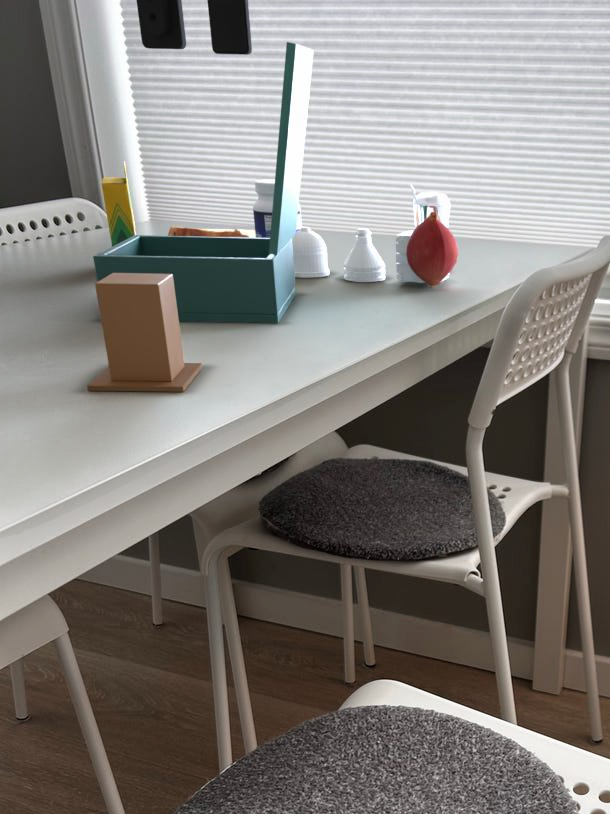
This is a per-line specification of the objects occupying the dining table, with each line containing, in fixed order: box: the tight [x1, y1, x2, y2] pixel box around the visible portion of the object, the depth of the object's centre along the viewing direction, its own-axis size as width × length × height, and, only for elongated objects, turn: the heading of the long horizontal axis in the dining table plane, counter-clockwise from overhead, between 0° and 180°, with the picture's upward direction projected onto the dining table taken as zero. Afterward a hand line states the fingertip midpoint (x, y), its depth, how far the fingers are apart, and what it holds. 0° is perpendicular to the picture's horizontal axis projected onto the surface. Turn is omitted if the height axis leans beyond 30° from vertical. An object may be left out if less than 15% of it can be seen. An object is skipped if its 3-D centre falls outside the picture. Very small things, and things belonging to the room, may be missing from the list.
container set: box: [292, 226, 450, 284], centre depth 113 cm, size 20×5×6 cm, turn 75°
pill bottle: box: [252, 178, 303, 238], centre depth 116 cm, size 6×6×10 cm
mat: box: [86, 362, 203, 393], centre depth 73 cm, size 7×7×1 cm
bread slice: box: [167, 225, 256, 238], centre depth 128 cm, size 18×18×4 cm
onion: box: [406, 211, 459, 288], centre depth 107 cm, size 6×6×8 cm
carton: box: [94, 273, 185, 382], centre depth 71 cm, size 4×4×7 cm
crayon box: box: [101, 160, 137, 247], centre depth 114 cm, size 7×3×12 cm, turn 18°
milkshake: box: [409, 184, 451, 229], centre depth 117 cm, size 4×5×10 cm
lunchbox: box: [92, 234, 297, 324], centre depth 96 cm, size 17×15×6 cm
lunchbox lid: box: [269, 41, 314, 255], centre depth 91 cm, size 17×15×1 cm
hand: (200, 51), depth 71 cm, fingers open, 9 cm apart
